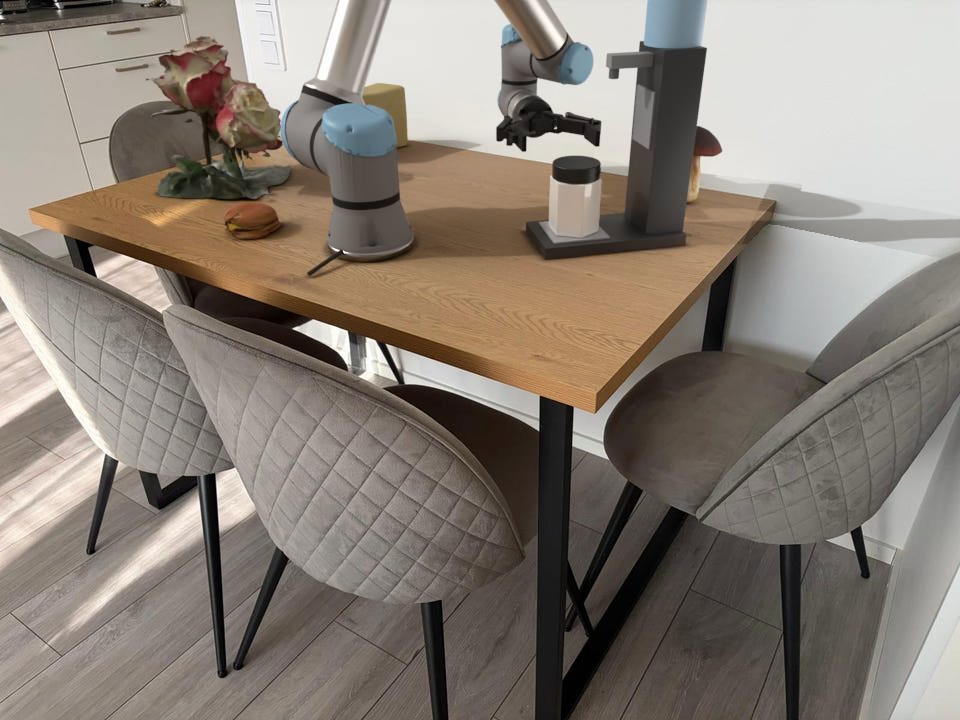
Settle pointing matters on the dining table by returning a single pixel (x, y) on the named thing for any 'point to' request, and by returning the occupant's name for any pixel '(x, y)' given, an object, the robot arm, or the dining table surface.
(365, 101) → the cheese
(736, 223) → the dining table surface
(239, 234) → the burger
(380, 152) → the robot arm
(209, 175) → the rose bouquet
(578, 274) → the dining table surface
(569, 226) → the jar
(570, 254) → the water dispenser
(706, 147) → the decorative mushroom
